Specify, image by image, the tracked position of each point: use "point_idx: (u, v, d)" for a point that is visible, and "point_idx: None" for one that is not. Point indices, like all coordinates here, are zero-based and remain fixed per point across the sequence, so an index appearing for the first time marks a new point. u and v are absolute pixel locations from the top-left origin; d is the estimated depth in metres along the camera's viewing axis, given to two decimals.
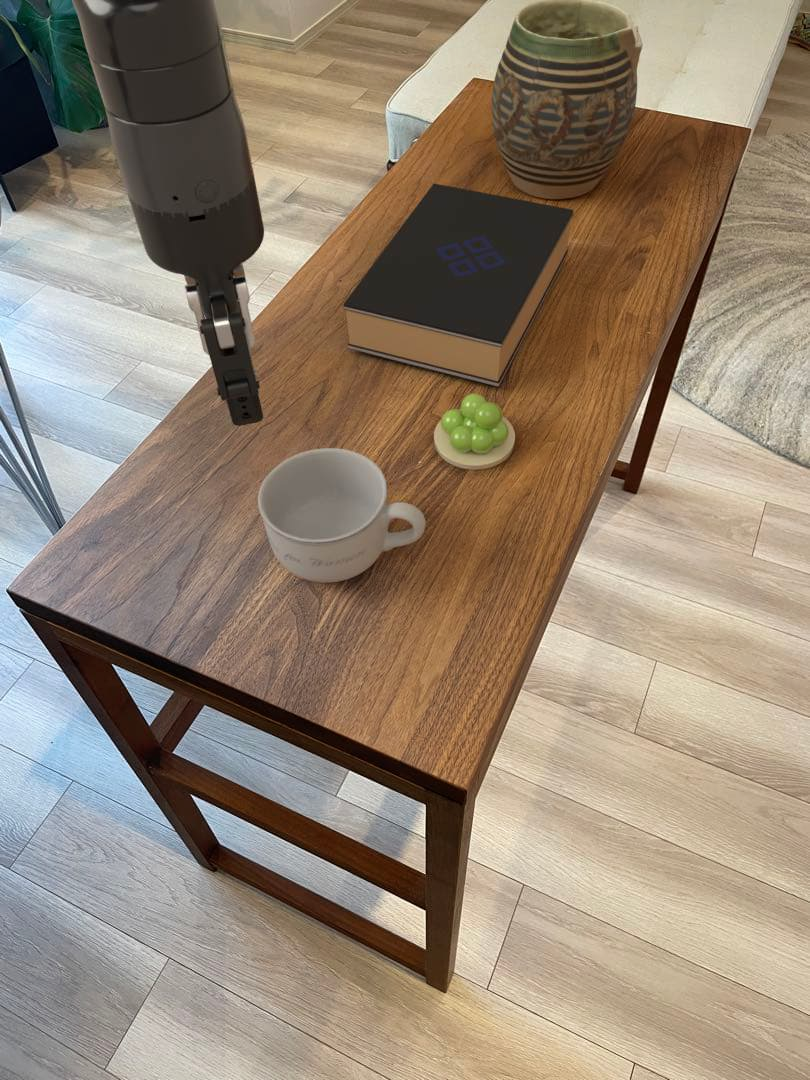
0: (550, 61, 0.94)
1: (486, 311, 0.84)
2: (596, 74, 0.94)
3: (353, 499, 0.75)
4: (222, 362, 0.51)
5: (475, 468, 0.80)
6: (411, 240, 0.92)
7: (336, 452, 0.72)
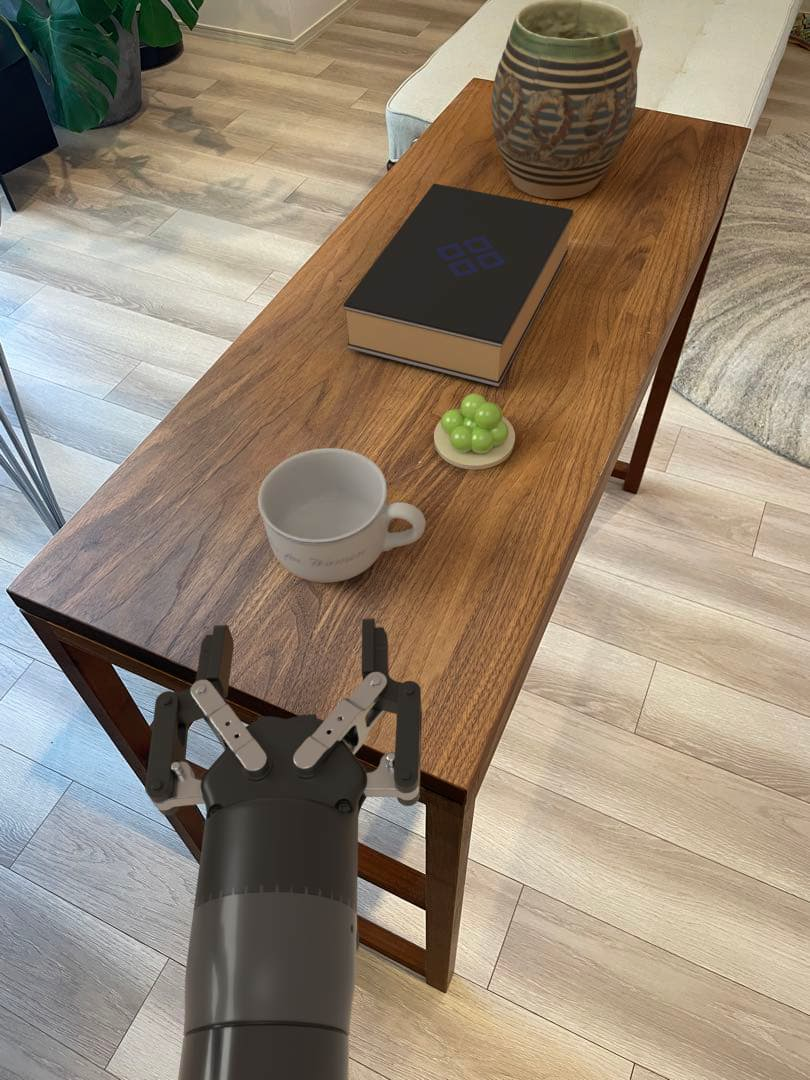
0: (550, 61, 0.94)
1: (486, 311, 0.84)
2: (596, 74, 0.94)
3: (353, 499, 0.75)
4: None
5: (475, 468, 0.80)
6: (411, 240, 0.92)
7: (336, 452, 0.72)
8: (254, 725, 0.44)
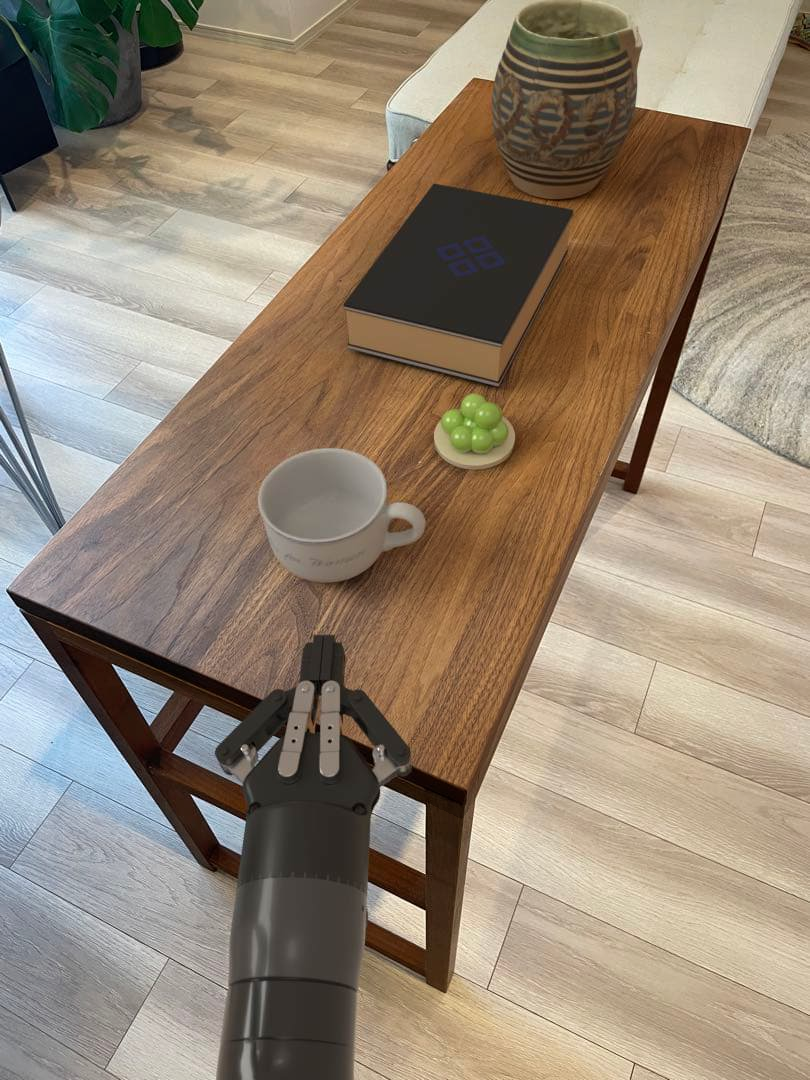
0: (550, 61, 0.94)
1: (486, 311, 0.84)
2: (596, 74, 0.94)
3: (353, 499, 0.75)
4: None
5: (475, 468, 0.80)
6: (411, 240, 0.92)
7: (336, 452, 0.72)
8: None
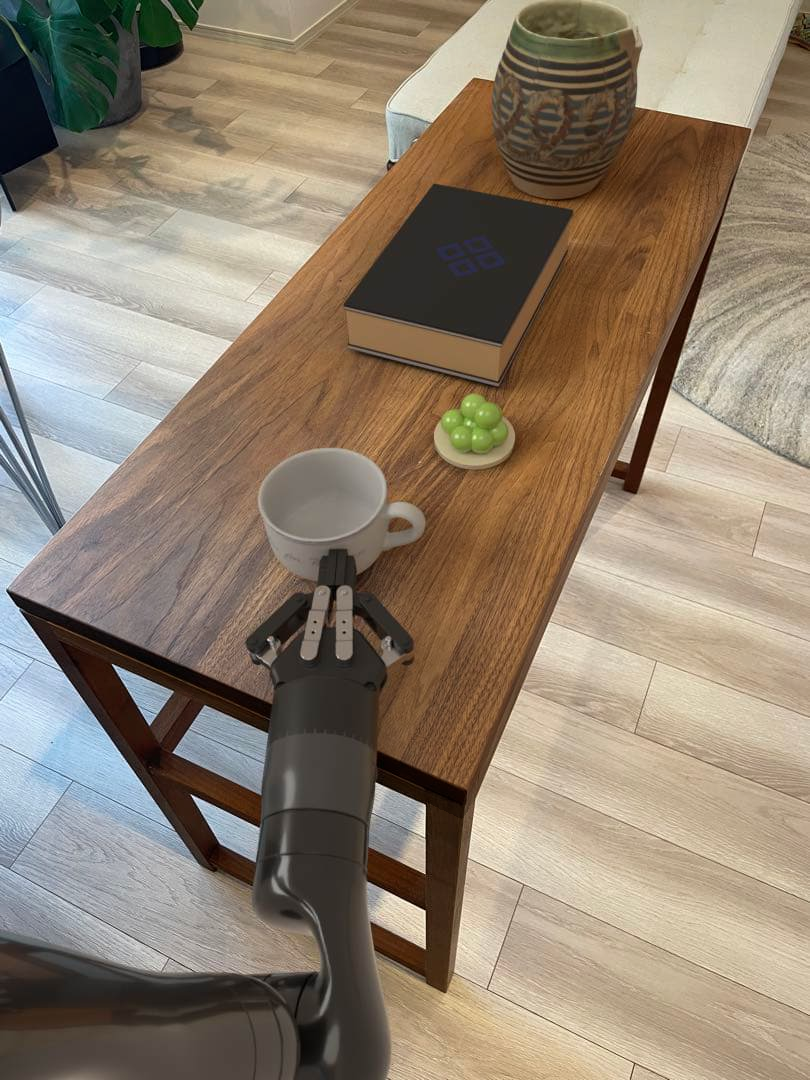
0: (550, 61, 0.94)
1: (486, 311, 0.84)
2: (596, 74, 0.94)
3: (353, 499, 0.75)
4: None
5: (475, 468, 0.80)
6: (411, 240, 0.92)
7: (336, 452, 0.72)
8: None
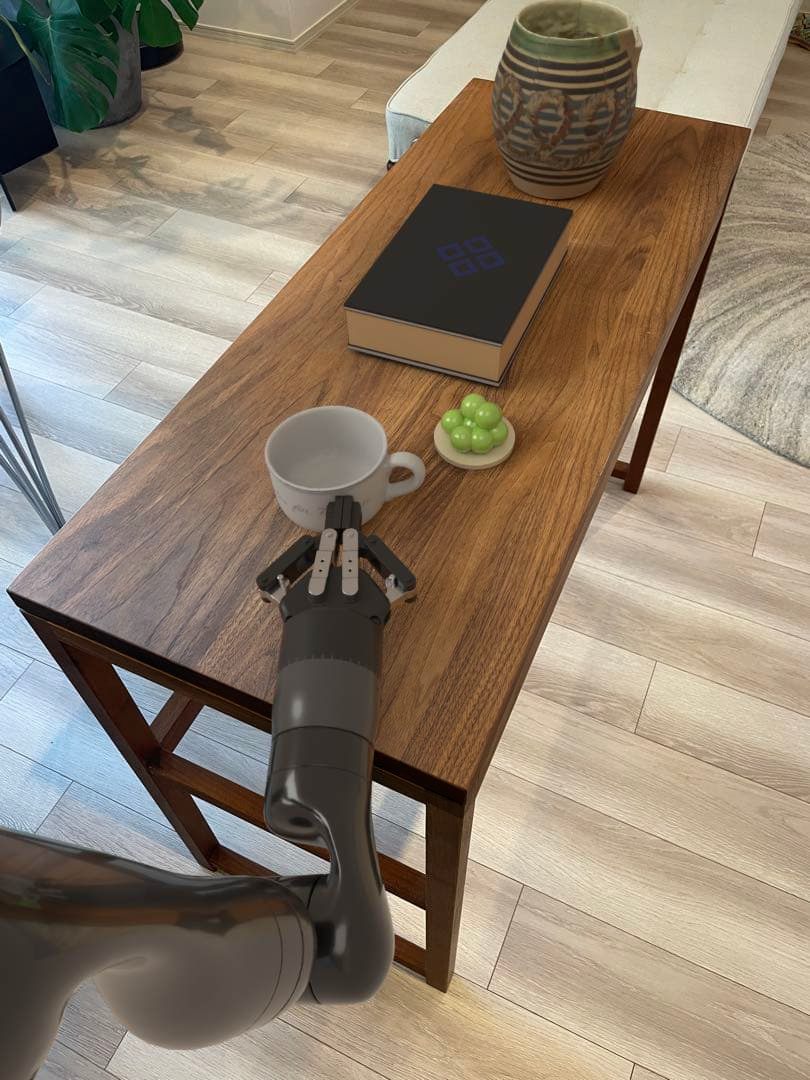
0: (550, 61, 0.94)
1: (486, 311, 0.84)
2: (596, 74, 0.94)
3: (353, 455, 0.79)
4: None
5: (475, 468, 0.80)
6: (411, 240, 0.92)
7: (336, 409, 0.75)
8: None
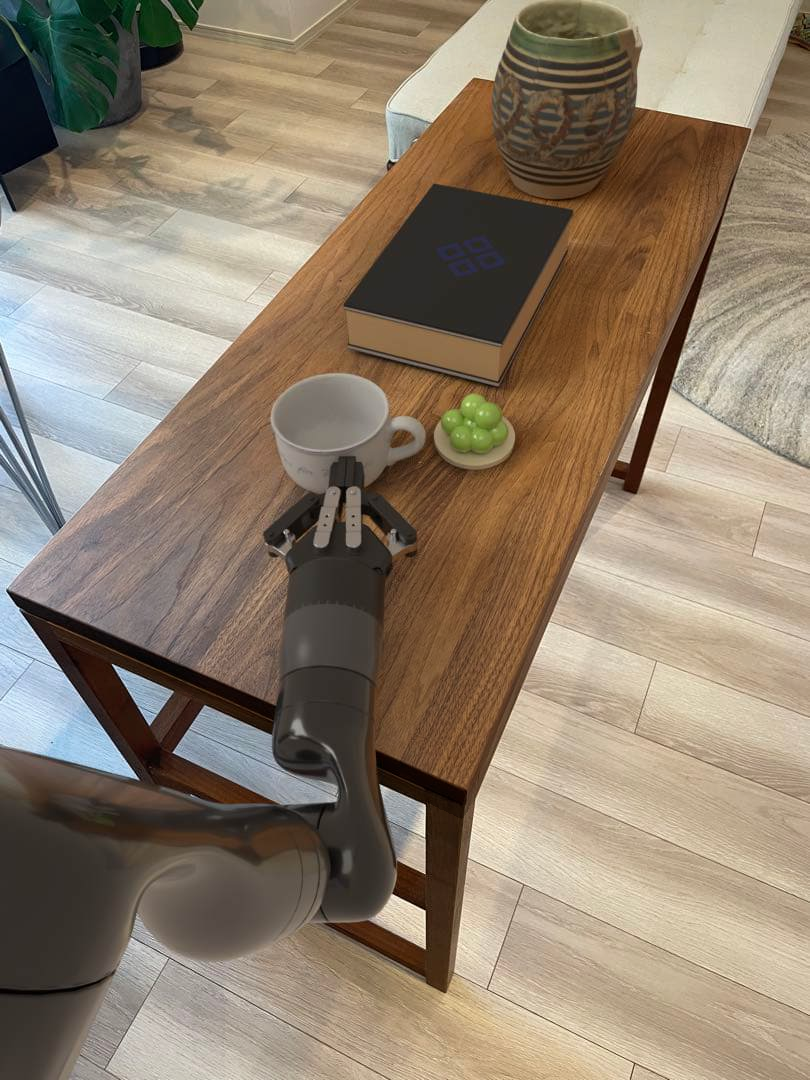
0: (550, 61, 0.94)
1: (486, 311, 0.84)
2: (596, 74, 0.94)
3: (355, 423, 0.81)
4: None
5: (475, 468, 0.80)
6: (411, 240, 0.92)
7: (339, 376, 0.78)
8: None
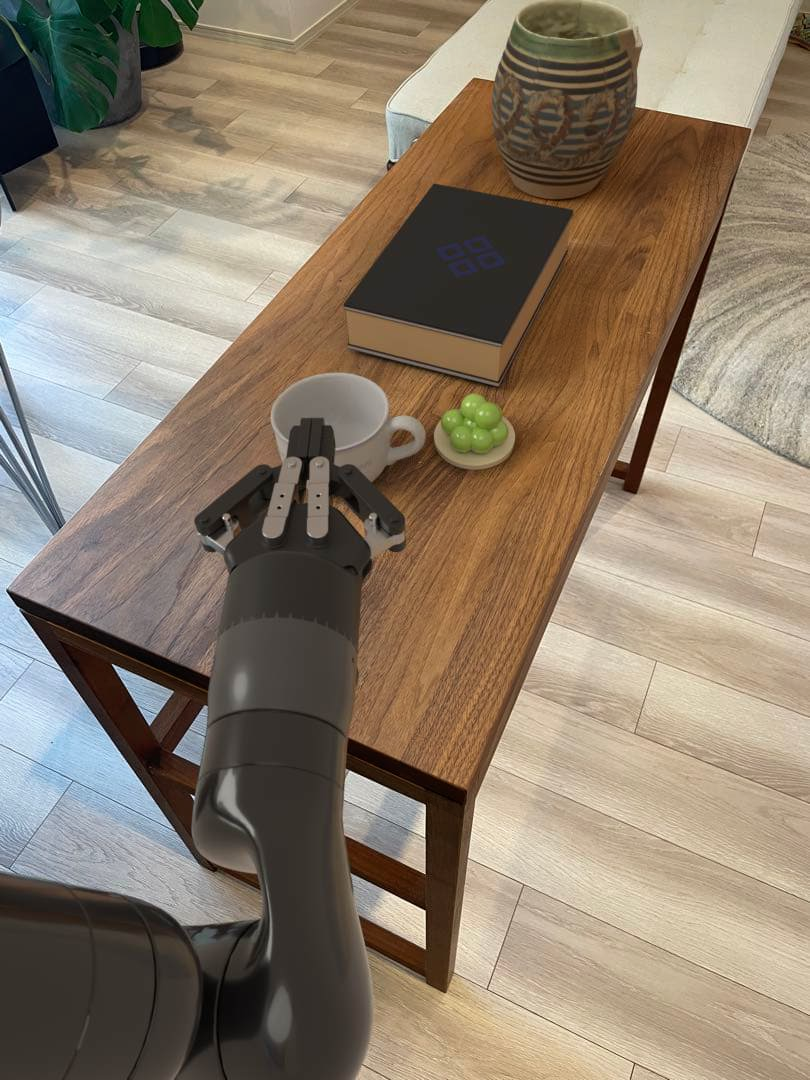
0: (550, 61, 0.94)
1: (486, 311, 0.84)
2: (596, 74, 0.94)
3: (355, 422, 0.81)
4: None
5: (475, 468, 0.80)
6: (411, 240, 0.92)
7: (339, 376, 0.78)
8: None
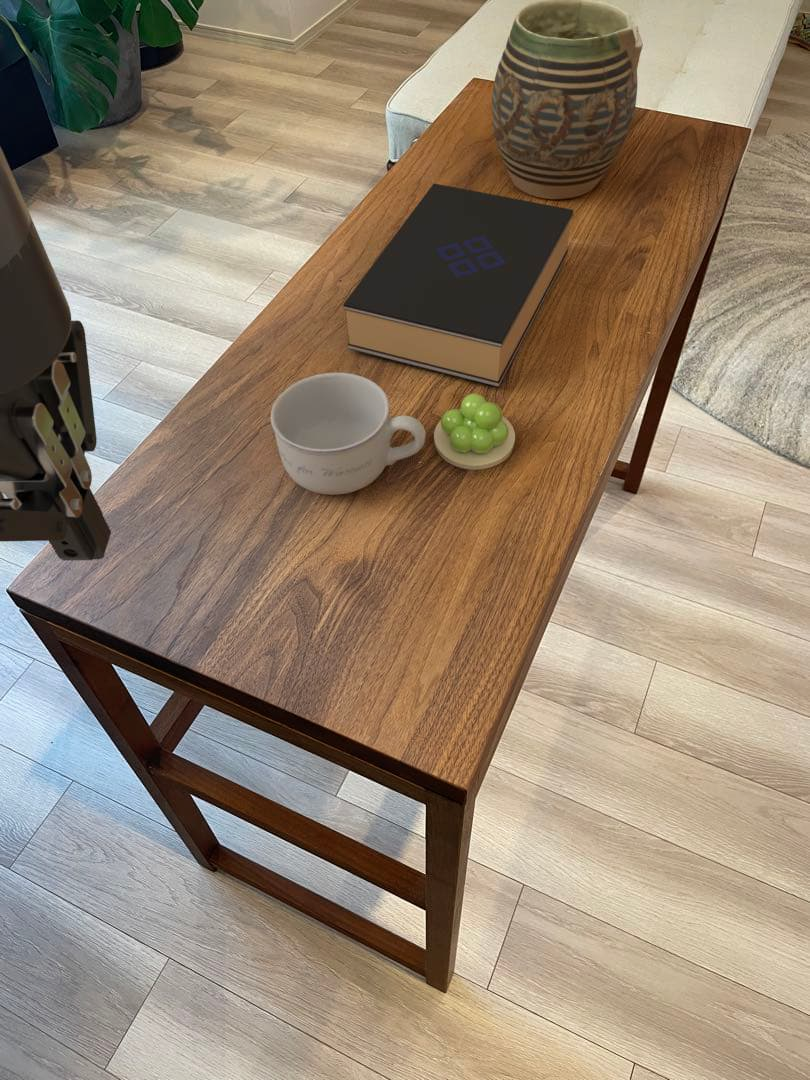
0: (550, 61, 0.94)
1: (486, 311, 0.84)
2: (596, 74, 0.94)
3: (355, 422, 0.81)
4: None
5: (475, 468, 0.80)
6: (411, 240, 0.92)
7: (339, 376, 0.78)
8: None
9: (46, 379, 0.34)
